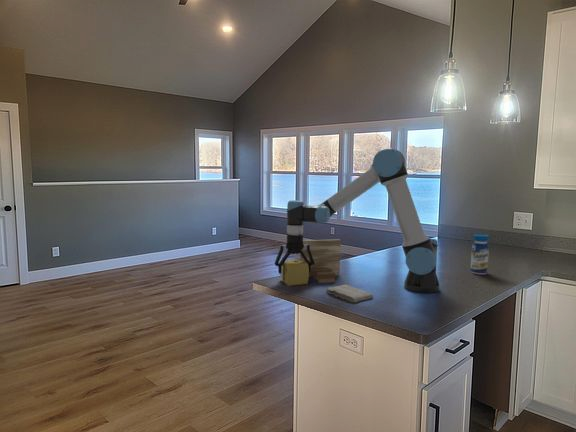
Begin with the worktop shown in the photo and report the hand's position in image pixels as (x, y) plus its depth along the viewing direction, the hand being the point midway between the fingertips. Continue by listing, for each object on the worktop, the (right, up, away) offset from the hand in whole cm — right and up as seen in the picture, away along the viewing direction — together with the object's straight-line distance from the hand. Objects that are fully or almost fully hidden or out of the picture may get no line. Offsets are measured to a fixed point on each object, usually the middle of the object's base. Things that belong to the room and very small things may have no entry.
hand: (294, 279), depth 196 cm
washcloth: (+23, -4, -19) cm, 30 cm away
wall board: (+14, 0, +8) cm, 16 cm away
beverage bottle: (+97, 0, +22) cm, 99 cm away
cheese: (0, -1, 0) cm, 1 cm away
